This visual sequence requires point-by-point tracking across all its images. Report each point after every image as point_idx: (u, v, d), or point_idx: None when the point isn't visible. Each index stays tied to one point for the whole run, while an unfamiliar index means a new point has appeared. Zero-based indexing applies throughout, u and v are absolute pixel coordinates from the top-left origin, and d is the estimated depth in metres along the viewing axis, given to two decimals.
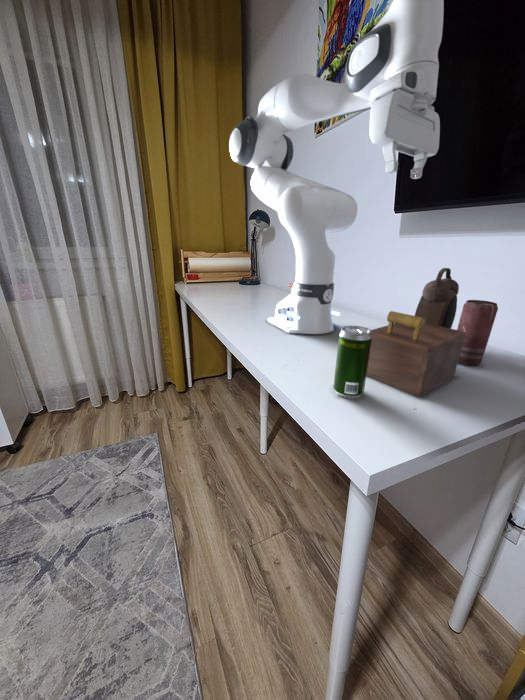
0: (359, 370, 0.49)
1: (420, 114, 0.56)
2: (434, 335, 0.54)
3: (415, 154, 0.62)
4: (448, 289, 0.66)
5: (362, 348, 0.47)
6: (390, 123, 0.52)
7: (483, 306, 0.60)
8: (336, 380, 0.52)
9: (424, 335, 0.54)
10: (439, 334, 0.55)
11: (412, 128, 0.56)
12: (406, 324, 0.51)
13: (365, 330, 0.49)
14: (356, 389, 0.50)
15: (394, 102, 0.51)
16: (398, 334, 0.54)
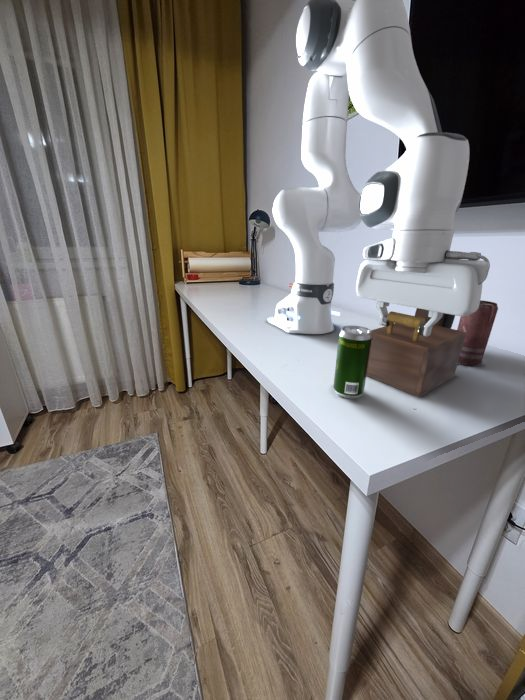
0: (359, 370, 0.49)
1: (415, 273, 0.47)
2: (434, 335, 0.54)
3: None
4: None
5: (362, 348, 0.47)
6: (358, 287, 0.56)
7: (483, 306, 0.60)
8: (336, 380, 0.52)
9: None
10: (439, 334, 0.55)
11: (397, 288, 0.50)
12: (406, 324, 0.51)
13: (365, 330, 0.49)
14: (356, 389, 0.50)
15: (360, 271, 0.55)
16: (398, 334, 0.54)
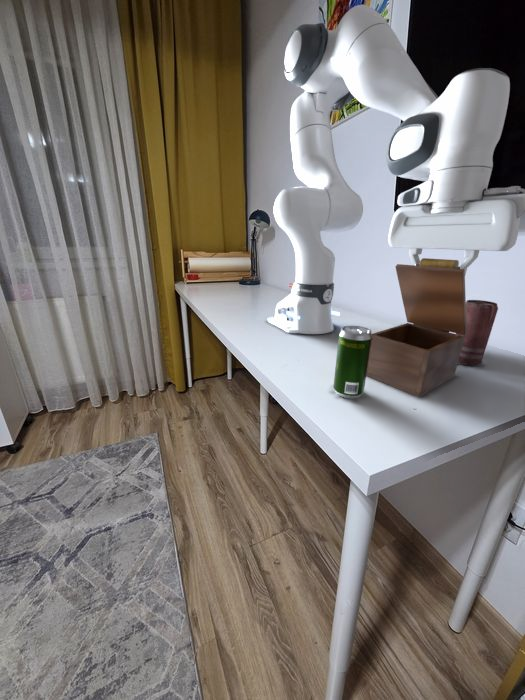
0: (359, 370, 0.49)
1: (452, 214, 0.49)
2: None
3: None
4: None
5: (362, 348, 0.47)
6: (391, 236, 0.58)
7: (483, 306, 0.60)
8: (336, 380, 0.52)
9: None
10: None
11: (432, 232, 0.52)
12: (440, 263, 0.52)
13: (365, 330, 0.49)
14: (356, 389, 0.50)
15: (394, 219, 0.56)
16: None
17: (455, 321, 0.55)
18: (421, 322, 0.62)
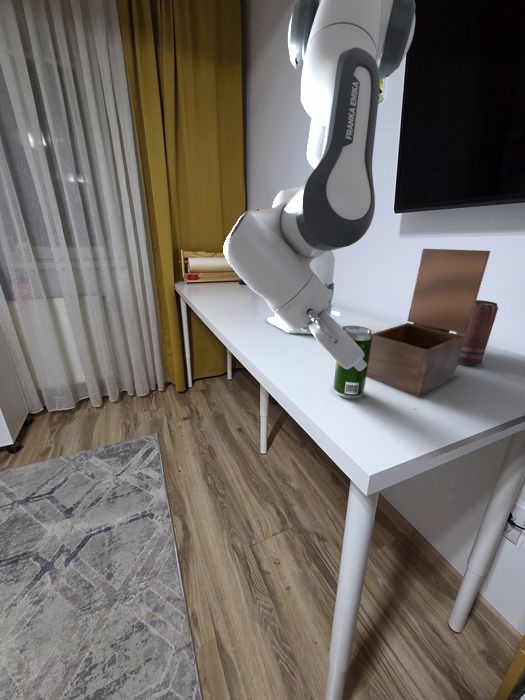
0: (359, 371, 0.49)
1: None
2: None
3: None
4: None
5: (362, 348, 0.47)
6: None
7: (483, 306, 0.60)
8: (336, 380, 0.52)
9: None
10: None
11: None
12: None
13: (365, 330, 0.49)
14: (356, 389, 0.50)
15: None
16: None
17: (461, 315, 0.56)
18: (422, 320, 0.62)
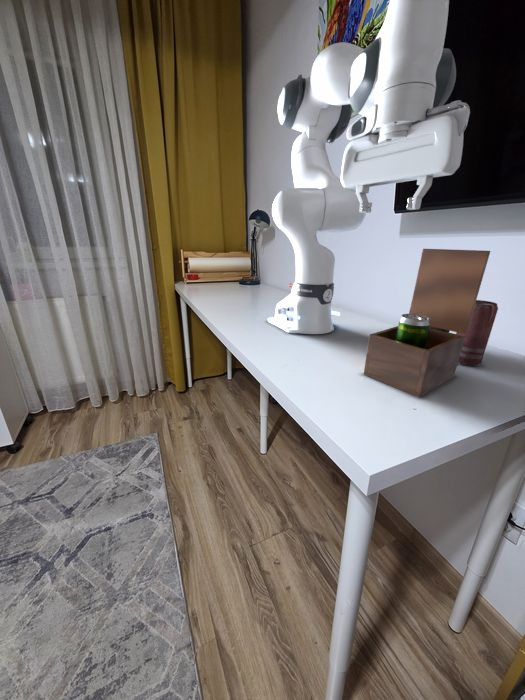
0: None
1: (397, 140, 0.47)
2: None
3: None
4: None
5: (423, 333, 0.53)
6: (343, 175, 0.56)
7: (483, 306, 0.60)
8: None
9: None
10: None
11: (380, 163, 0.50)
12: None
13: (424, 317, 0.54)
14: None
15: (345, 156, 0.54)
16: None
17: (461, 315, 0.56)
18: None
